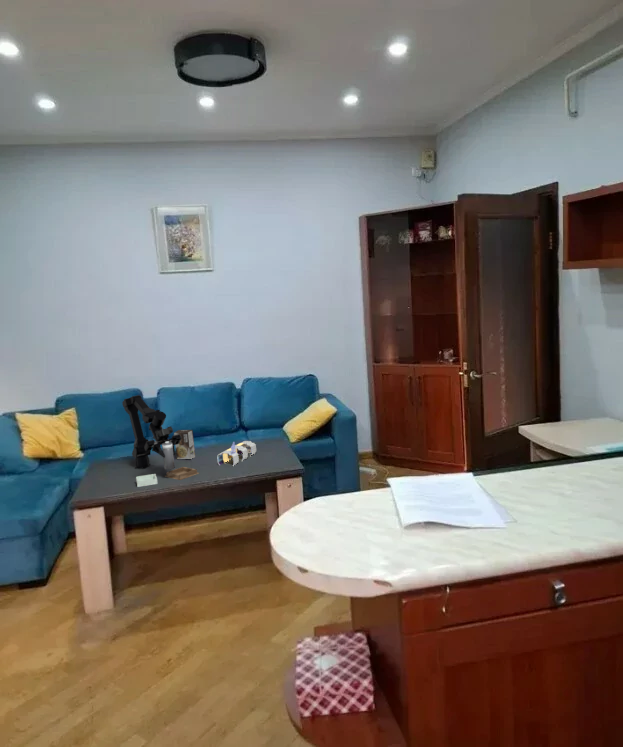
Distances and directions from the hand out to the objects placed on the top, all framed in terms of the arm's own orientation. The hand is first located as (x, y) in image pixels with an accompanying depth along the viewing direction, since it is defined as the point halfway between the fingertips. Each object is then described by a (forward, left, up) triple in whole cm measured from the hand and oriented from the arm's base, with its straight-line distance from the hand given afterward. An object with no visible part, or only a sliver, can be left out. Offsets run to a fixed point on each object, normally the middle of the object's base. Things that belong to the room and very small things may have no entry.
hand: (169, 456), depth 300 cm
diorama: (+24, +35, -13) cm, 44 cm away
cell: (-1, +1, -7) cm, 7 cm away
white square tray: (-11, -6, -12) cm, 17 cm away
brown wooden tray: (+3, +7, -12) cm, 14 cm away
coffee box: (-8, +39, -13) cm, 41 cm away
